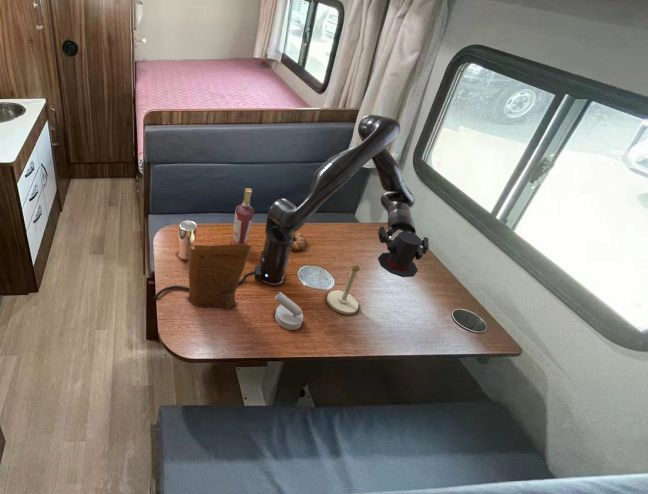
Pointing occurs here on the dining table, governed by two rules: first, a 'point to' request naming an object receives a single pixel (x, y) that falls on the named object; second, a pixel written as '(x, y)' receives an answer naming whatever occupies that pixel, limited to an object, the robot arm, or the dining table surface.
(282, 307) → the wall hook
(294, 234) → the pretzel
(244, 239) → the liquor
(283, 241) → the robot arm
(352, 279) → the hat stand
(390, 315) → the dining table surface
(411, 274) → the hat
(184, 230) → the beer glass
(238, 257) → the pancake mix bag
